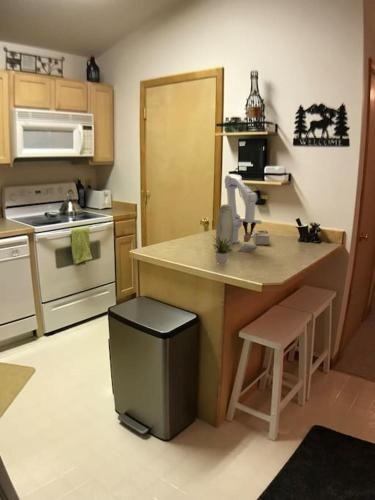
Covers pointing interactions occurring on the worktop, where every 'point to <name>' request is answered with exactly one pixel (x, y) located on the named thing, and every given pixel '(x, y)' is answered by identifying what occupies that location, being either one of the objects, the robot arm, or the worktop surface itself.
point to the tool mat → (247, 248)
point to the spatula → (248, 236)
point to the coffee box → (261, 237)
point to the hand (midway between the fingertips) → (248, 234)
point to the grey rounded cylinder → (225, 225)
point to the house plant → (221, 250)
